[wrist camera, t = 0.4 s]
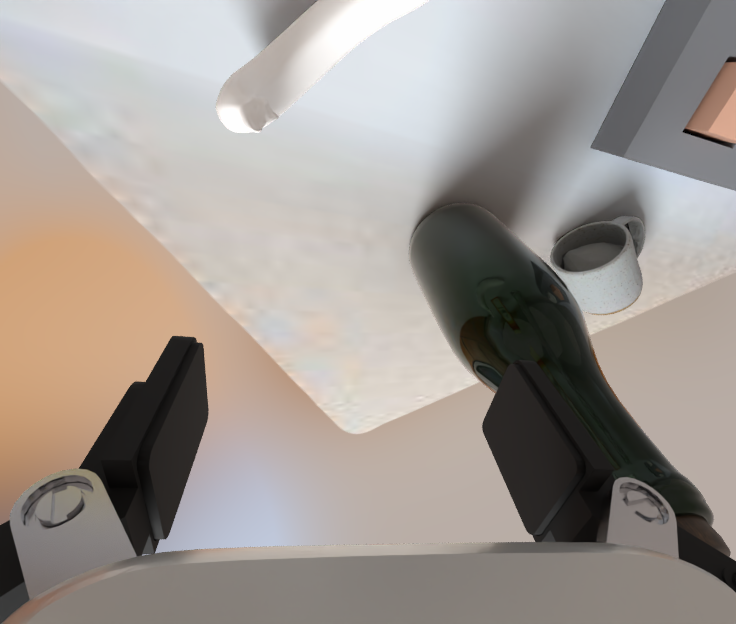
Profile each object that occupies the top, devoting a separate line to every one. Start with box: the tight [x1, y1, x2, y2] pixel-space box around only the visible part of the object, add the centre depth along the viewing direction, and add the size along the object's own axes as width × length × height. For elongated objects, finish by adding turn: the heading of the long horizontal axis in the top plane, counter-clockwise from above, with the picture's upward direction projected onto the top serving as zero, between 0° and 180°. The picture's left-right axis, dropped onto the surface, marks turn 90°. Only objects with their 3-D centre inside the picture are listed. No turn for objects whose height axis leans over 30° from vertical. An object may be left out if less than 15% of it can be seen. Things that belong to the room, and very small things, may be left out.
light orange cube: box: [683, 62, 736, 143], centre depth 33 cm, size 5×5×5 cm
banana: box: [216, 0, 430, 133], centre depth 26 cm, size 5×19×15 cm, turn 125°
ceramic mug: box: [550, 216, 645, 315], centre depth 41 cm, size 11×8×8 cm
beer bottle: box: [409, 203, 730, 557], centre depth 29 cm, size 10×10×33 cm
